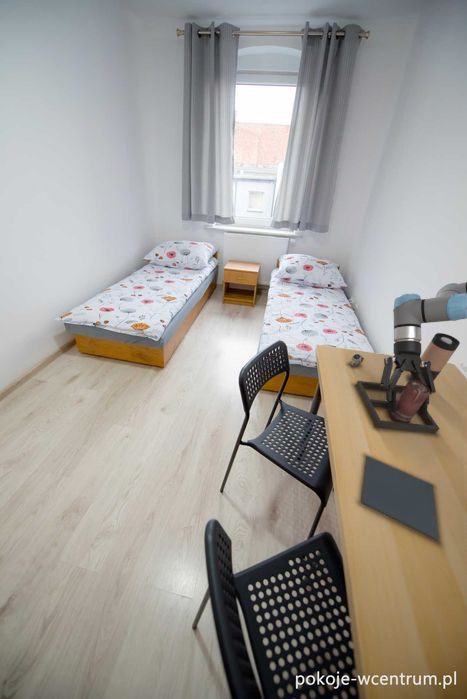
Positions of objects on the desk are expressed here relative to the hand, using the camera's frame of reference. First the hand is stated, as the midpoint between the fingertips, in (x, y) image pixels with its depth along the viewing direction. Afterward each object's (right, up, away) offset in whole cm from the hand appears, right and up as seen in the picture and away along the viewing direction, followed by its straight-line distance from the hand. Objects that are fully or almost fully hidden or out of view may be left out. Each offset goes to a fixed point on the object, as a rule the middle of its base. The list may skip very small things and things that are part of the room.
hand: (407, 413), depth 85 cm
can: (0, -2, +4) cm, 5 cm away
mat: (-13, -16, -17) cm, 27 cm away
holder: (0, 0, +8) cm, 8 cm away
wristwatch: (-5, +13, +26) cm, 30 cm away
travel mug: (+17, +7, +21) cm, 28 cm away
